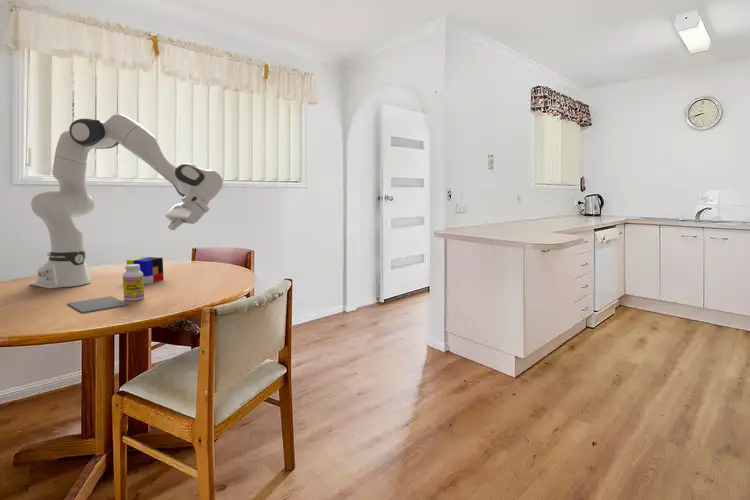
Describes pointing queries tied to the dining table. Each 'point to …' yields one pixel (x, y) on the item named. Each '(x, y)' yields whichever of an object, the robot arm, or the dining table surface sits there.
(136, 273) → the supplement bottle
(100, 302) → the mat
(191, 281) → the dining table surface
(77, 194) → the robot arm
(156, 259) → the puzzle toy
